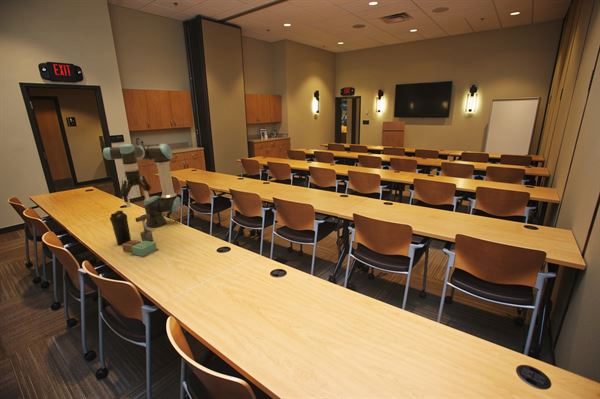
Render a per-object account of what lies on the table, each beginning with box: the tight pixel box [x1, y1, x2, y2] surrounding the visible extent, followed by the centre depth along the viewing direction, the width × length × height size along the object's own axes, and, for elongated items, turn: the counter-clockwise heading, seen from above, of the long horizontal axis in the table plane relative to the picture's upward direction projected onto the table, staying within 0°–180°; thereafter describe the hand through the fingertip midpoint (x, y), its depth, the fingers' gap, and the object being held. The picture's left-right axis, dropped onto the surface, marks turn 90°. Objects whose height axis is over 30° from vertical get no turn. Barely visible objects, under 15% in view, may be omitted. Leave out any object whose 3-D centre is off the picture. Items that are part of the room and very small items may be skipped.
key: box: [134, 214, 155, 233], centre depth 200 cm, size 10×9×11 cm
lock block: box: [140, 230, 154, 242], centre depth 205 cm, size 5×5×8 cm
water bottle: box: [109, 210, 132, 246], centre depth 204 cm, size 10×10×23 cm
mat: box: [129, 248, 160, 258], centre depth 191 cm, size 12×12×1 cm
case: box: [121, 239, 142, 254], centre depth 195 cm, size 8×8×5 cm
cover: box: [131, 240, 158, 256], centre depth 191 cm, size 10×10×5 cm
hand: (138, 203), depth 183 cm, fingers open, 13 cm apart
